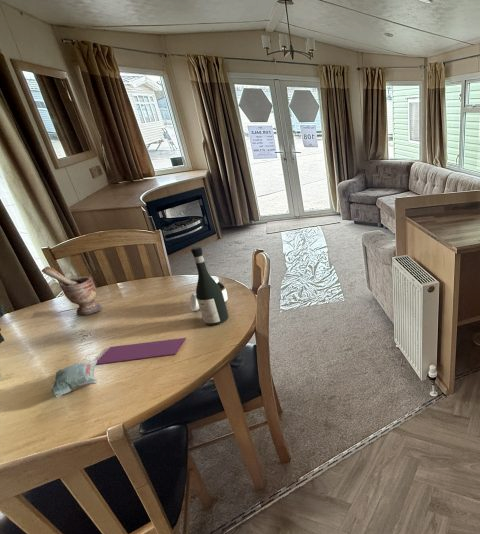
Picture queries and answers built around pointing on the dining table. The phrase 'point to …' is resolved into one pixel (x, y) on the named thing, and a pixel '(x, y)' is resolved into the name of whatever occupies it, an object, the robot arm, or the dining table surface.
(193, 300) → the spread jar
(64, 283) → the mortar and pestle
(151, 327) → the dining table surface
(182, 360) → the dining table surface
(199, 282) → the wine bottle
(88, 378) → the packaged food
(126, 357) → the cloth
